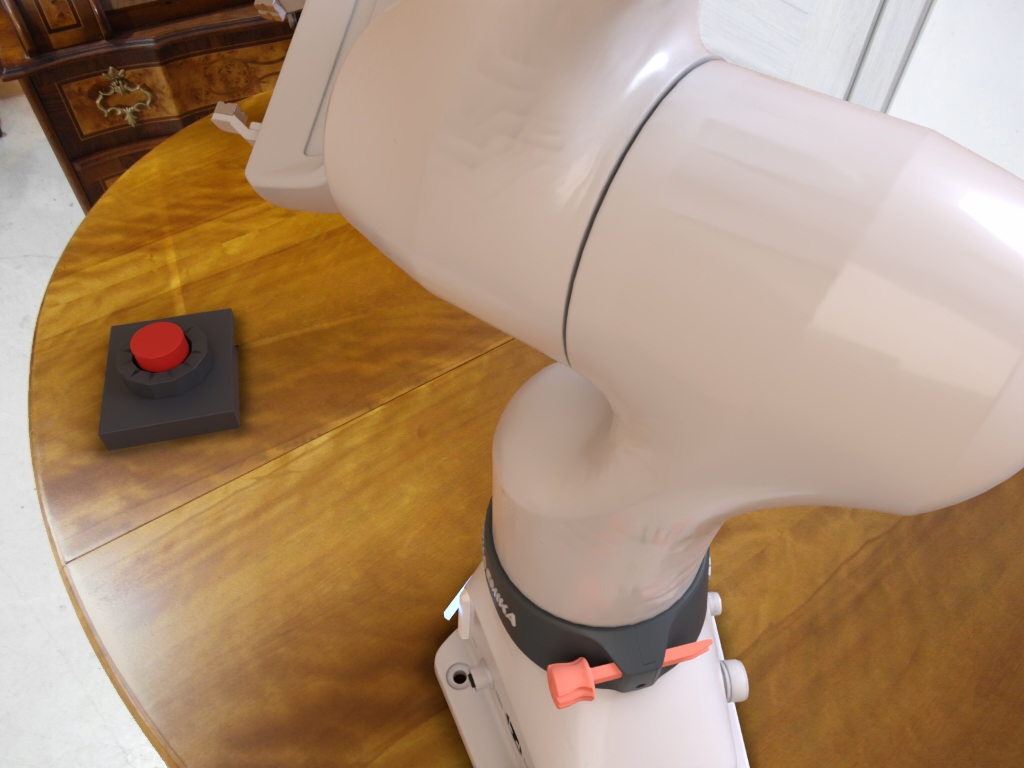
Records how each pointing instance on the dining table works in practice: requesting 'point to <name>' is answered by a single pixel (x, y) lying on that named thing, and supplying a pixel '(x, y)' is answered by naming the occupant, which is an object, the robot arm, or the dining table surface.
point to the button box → (172, 385)
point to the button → (159, 347)
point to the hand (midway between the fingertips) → (239, 58)
